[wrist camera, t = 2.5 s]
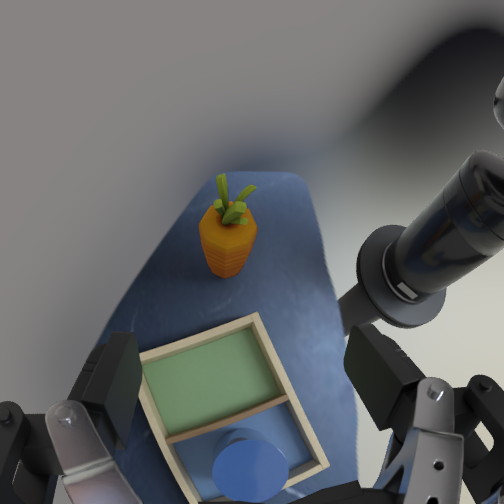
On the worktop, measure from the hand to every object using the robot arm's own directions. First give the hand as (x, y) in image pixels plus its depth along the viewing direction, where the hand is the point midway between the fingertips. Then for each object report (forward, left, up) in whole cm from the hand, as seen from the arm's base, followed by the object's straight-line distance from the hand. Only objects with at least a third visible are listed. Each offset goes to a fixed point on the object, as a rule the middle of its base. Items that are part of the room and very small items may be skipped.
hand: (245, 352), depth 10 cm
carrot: (-4, -11, -20) cm, 23 cm away
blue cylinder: (+2, +8, -19) cm, 21 cm away
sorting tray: (+2, +4, -20) cm, 21 cm away
